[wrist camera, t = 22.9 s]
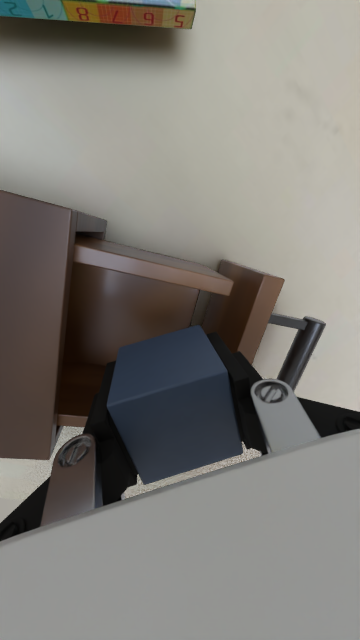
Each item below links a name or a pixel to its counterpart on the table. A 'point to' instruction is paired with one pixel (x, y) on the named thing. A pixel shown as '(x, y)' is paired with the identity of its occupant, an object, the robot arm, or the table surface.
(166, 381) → the block
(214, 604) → the robot arm
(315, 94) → the table surface
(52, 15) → the puzzle game
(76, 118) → the table surface
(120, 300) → the drawer
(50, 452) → the cabinet
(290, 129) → the table surface
